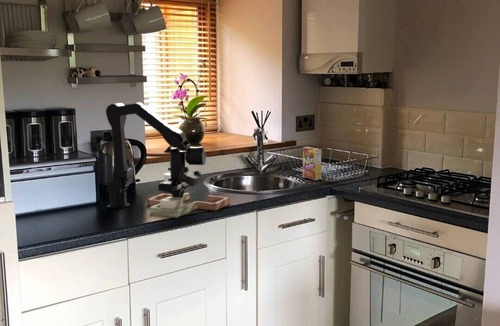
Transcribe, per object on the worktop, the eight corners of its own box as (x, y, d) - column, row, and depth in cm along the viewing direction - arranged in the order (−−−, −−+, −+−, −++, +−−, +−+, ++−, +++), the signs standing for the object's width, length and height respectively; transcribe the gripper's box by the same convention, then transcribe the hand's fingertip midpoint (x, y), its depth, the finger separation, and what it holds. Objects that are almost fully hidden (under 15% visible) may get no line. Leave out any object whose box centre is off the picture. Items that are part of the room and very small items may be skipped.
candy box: (301, 179, 268) (302, 147, 265) (308, 177, 270) (309, 146, 268) (314, 182, 261) (315, 149, 258) (321, 181, 263) (322, 148, 260)
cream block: (174, 215, 206) (173, 201, 205) (160, 213, 209) (160, 200, 208) (183, 211, 211) (182, 198, 211) (169, 209, 214) (169, 196, 213)
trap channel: (195, 220, 199) (195, 213, 199) (132, 211, 211) (132, 205, 211) (229, 203, 222) (229, 197, 222) (170, 196, 234) (170, 190, 233)
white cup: (160, 189, 246) (160, 174, 245) (170, 186, 252) (169, 171, 251) (173, 191, 243) (173, 175, 242) (182, 188, 249) (182, 172, 248)
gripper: (182, 170, 200) (183, 213, 203) (208, 162, 216) (209, 201, 219) (156, 168, 205) (158, 210, 207) (184, 159, 221) (185, 198, 224)
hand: (179, 204), depth 214 cm, fingers closed
